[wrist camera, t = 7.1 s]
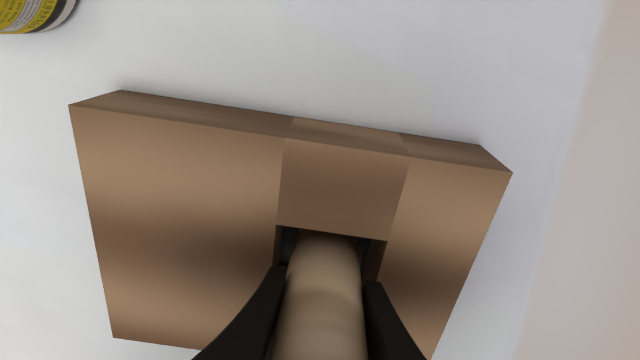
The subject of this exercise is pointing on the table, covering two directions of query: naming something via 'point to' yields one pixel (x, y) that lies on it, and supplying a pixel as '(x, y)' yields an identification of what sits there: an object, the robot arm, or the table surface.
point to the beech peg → (321, 301)
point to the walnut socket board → (269, 210)
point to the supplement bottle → (32, 15)
